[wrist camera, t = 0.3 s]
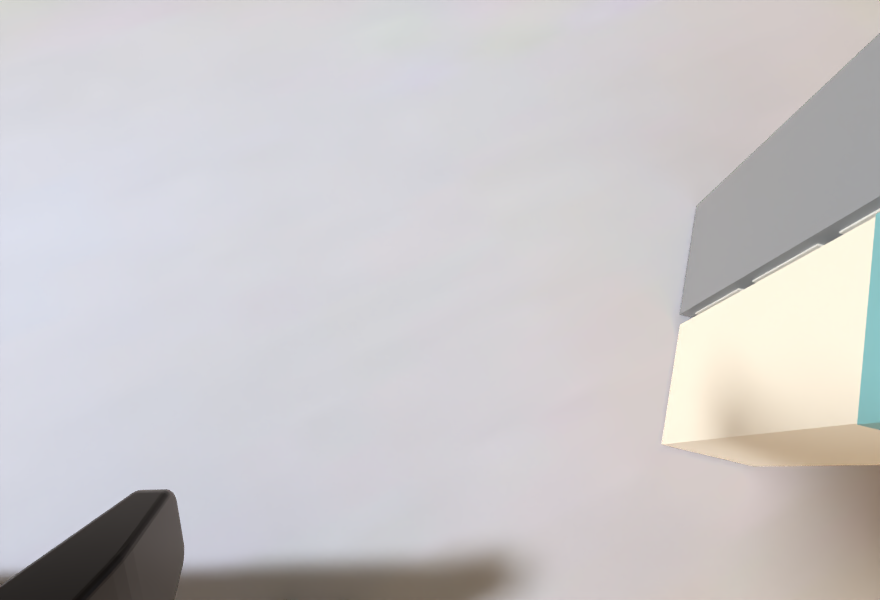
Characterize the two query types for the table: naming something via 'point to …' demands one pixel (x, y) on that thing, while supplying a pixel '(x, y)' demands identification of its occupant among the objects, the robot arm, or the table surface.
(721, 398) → the cream long block
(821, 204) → the ticket block
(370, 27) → the table surface
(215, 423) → the table surface
